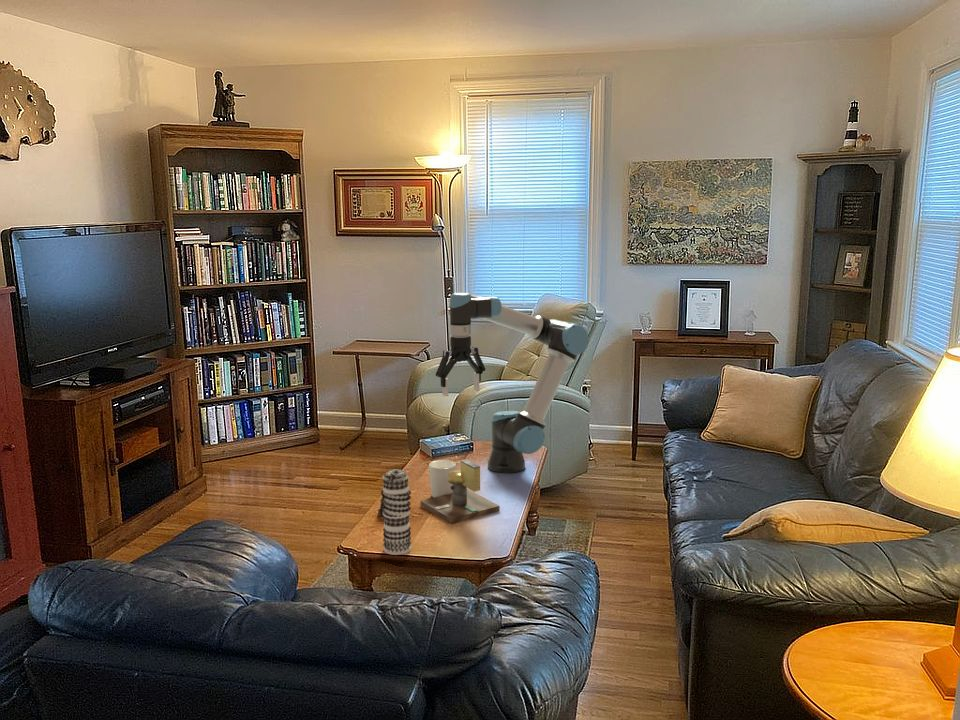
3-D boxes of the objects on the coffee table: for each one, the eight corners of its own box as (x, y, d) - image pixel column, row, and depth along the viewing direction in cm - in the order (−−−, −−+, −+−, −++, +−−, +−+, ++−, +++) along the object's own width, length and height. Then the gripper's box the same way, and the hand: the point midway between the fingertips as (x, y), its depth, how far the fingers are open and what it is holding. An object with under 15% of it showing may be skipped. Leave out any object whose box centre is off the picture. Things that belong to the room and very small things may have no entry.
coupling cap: (443, 479, 277) (443, 456, 275) (463, 475, 281) (463, 452, 279) (466, 493, 263) (466, 469, 262) (487, 488, 268) (487, 465, 266)
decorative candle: (387, 557, 239) (385, 478, 234) (378, 545, 247) (376, 469, 243) (416, 552, 243) (414, 474, 238) (406, 540, 251) (404, 465, 246)
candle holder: (453, 500, 285) (452, 469, 283) (426, 499, 287) (426, 467, 284) (458, 491, 294) (458, 460, 292) (432, 489, 296) (432, 459, 294)
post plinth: (467, 494, 291) (467, 468, 289) (499, 511, 275) (499, 483, 273) (420, 506, 280) (420, 479, 278) (450, 524, 264) (450, 495, 262)
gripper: (436, 340, 277) (437, 399, 281) (494, 334, 291) (494, 390, 295) (425, 337, 283) (426, 395, 287) (483, 331, 297) (483, 386, 301)
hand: (461, 393), depth 291 cm, fingers open, 13 cm apart
